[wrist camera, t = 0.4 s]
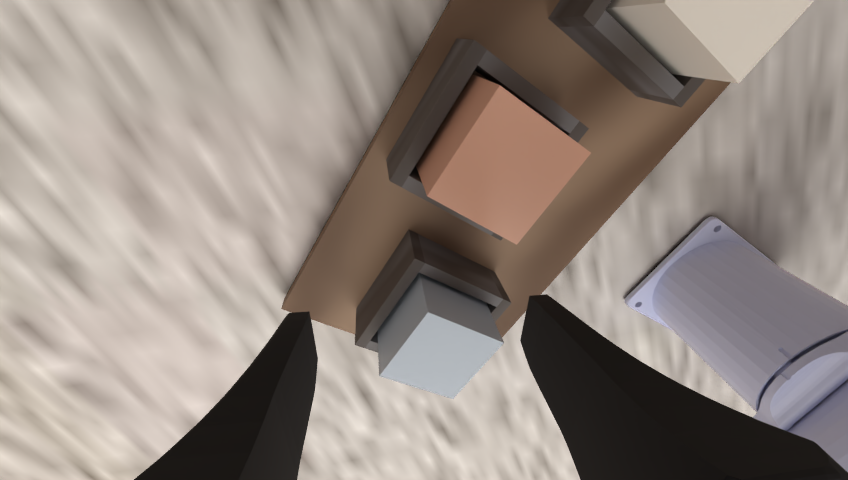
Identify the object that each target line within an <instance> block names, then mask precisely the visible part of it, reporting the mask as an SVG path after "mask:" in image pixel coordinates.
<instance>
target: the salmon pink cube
mask: <svg viewBox="0 0 848 480" xmlns="http://www.w3.org/2000/svg"><path fill="white" fill-rule="evenodd" d="M590 154H591V152H589V151H588V150H587V149H585V148H584V147H583V146H581V145H580V144H579V143H577V142H576V141H575V140H573V139H572V138H571V137H569V136H568V135H566V134H565V133H564V132H562V131H561V130H560V129H558V128H557V127H556V126H554V125H553V124H552V123H550V122H549V121H548V120H546V119H545V118H543V117H542V116H541V115H539V114H538V113H537V112H535V111H534V110H533V109H531V108H530V107H529V106H527V105H526V104H525V103H523V102H522V101H520V100H519V99H518V98H516V97H515V96H514V95H512V94H511V93H510V92H508V91H507V90H506V89H504V88H503V87H502V86H500V85H498V84H495V83H493V82H491V81H488V80H486V79H483V78H481V77H478V76H476V75H472V76H471V78H470V79H469V81H468V83H467V84H466V86H465V87H464V89H463V91H462V92H461V94H460V96H459V97H458V99H457V100H456V102H455V104H454V105H453V107H452V108H451V110H450V112H449V113H448V115H447V116H446V118H445V120H444V121H443V123H442V125H441V126H440V128H439V129H438V131H437V133H436V134H435V136H434V137H433V139H432V141H431V142H430V144H429V145H428V147H427V149H426V150H425V152H424V153H423V155H422V157H421V158H420V160H419V162H418V163H417V165H416V168H417V170H418V173H419V176H420V178H421V181H422V184H423V187H424V189H425V192H426V195H427V196H428V197H429V198H431V199H433V200H435V201H437V202H439V203H441V204H442V205H444V206H446V207H448V208H450V209H452V210H453V211H455V212H457V213H459V214H461V215H463V216H465V217H466V218H468V219H470V220H472V221H474V222H476V223H477V224H479V225H481V226H483V227H485V228H487V229H488V230H490V231H492V232H494V233H496V234H498V235H500V236H501V237H503V238H505V239H507V240H509V241H511V242H512V243H514V244H516V245H517V244H518V243H519V242H520V240H521V239H522V238H523V237H524V235H525V234H526V233H527V232H528V230H529V229H530V228H531V227H532V226H533V224H534V223H535V222H536V221H537V219H538V218H539V217H540V216H541V214H542V213H543V212H544V211H545V210H546V208H547V207H548V206H549V205H550V203H551V202H552V201H553V200H554V198H555V197H556V196H557V195H558V193H559V192H560V191H561V190H562V189H563V187H564V186H565V185H566V184H567V182H568V181H569V180H570V179H571V177H572V176H573V175H574V174H575V173H576V171H577V170H578V169H579V168H580V166H581V165H582V164H583V163H584V161H585V160H586V159H587V158H588V156H589V155H590Z"/></svg>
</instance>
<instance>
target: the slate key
mask: <svg viewBox="0 0 848 480" xmlns="http://www.w3.org/2000/svg"><path fill="white" fill-rule="evenodd" d="M377 331H378V357H379V376H380V377H384V378H387V379H390V380H393V381H396V382H400V383H403V384H406V385H409V386H413V387H416V388H419V389H422V390H426V391H429V392H432V393H435V394H438V395H442V396H445V397H448V398H451V399H454V397H455V396H456V395H457V394H458V393H459V392H460V391H461V390H462V389H463V388H464V386H465V385H466V384H467V383H468V382H469V381H470V380H471V379H472V378H473V376H474V375H475V374H476V373H477V372H478V371H479V370H480V369H481V368H482V367H483V365H484V364H485V363H486V362H487V361H488V360H489V359H490V358H491V357H492V356H493V354H494V353H495V352H496V351H497V350H498V349H499V348H500V347H501V346H502V344H503V343H504V342H503V340H502V337H501V335H500V333H499V331H498V328H497V326H496V324H495V321H494V319H493V317H492V315H491V312H490V310H489V308H488V306H487V303H486V302H484V301H482V300H480V299H477V298H475V297H473V296H471V295H468V294H466V293H464V292H462V291H460V290H457V289H455V288H453V287H451V286H448V285H446V284H444V283H442V282H439V281H437V280H435V279H433V278H430V277H428V276H426V275H424V274H421V273H418V274H417V276H416V277H415V278H414V280H413V281H412V283H411V284H410V285H409V287H408V288H407V290H406V291H405V293H404V294H403V295H402V297H401V298H400V300H399V301H398V302H397V304H396V305H395V307H394V308H393V309H392V311H391V312H390V314H389V315H388V316H387V318H386V319H385V321H384V322H383V323H382V325H381V326H380V328H379V329H378V330H377Z"/></svg>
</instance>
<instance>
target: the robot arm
mask: <svg viewBox="0 0 848 480" xmlns="http://www.w3.org/2000/svg"><path fill="white" fill-rule="evenodd" d="M625 303H626V304H627V305H628V306H629V307H630V308H632V309H634V310H636V311H638V312H640V313H641V314H643V315H645V316H647V317H649V318H651V319H652V320H654V321H656V322H658V323H660V324H662V325H664V326H665V327H667V328H669V329H671V330H673V331H674V332H675V333H676V334H677V335H678V336H679V337H680V338H681V339H682V340H683V341H684V342H685V343H686V344H687V345H688V346H689V347H690V348H691V349H692V350H693V351H694V352H696V353H697V354H698V355H699V356H700V357H701V358H702V359H703V360H704V361H705V362H706V363H707V364H708V365H709V366H710V367H711V368H712V369H713V370H714V371H715V372H716V373H717V374H718V375H719V376H720V377H721V378H722V379H723V380H724V381H725V382H726V383H727V384H728V385H729V386H730V387H731V388H732V389H733V390H734V391H736V392H737V393H738V394H739V395H740V396H741V397H742V398H743V399H744V400H745V401H746V402H747V403H748V404H749V405H750V406H751V407H752V408H753V409H754V410H755V411H756V412H757V413H756V415H755V416H754V417H753V418H752V417H750V416H747V415H745V414H743V413H740V412H738V411H736V410H733V409H731V408H729V407H727V406H724V405H722V404H720V403H718V402H716V401H714V400H711V399H709V398H707V397H705V396H703V395H701V394H699V393H697V392H695V391H693V390H691V389H689V388H687V387H685V386H683V385H681V384H679V383H678V382H676V381H674V380H672V379H670V378H668V377H666V376H665V375H663V374H661V373H660V372H658V371H656V370H654V369H653V368H651V367H649V366H648V365H646V364H644V363H642V362H641V361H639V360H638V359H636V358H634V357H633V356H631V355H630V354H628V353H627V352H625V351H624V350H622V349H621V348H619V347H618V346H616V345H615V344H613V343H612V342H610V341H609V340H607V339H606V338H605V337H603V336H602V335H600V334H599V333H598V332H596V331H595V330H594V329H592V328H591V327H589V326H588V325H587V324H585V323H584V322H583V321H581V320H580V319H579V318H577V317H576V316H575V315H574V314H572V313H571V312H570V311H568V310H567V309H566V308H564V307H563V306H562V305H560V304H559V303H558V302H556V301H555V300H554V299H552V298H551V297H550V296H548V295H547V294H546V295H532V296H529V300H528V305H527V310H526V315H525V320H524V325H523V330H522V335H521V340H520V341H521V344H522V347H523V350H524V353H525V356H526V359H527V361H528V364H529V367H530V369H531V372H532V374H533V376H534V378H535V380H536V382H537V384H538V386H539V388H540V390H541V392H542V394H543V396H544V398H545V400H546V402H547V404H548V406H549V408H550V410H551V412H552V414H553V416H554V418H555V420H556V422H557V424H558V426H559V428H560V430H561V432H562V434H563V436H564V439H565V441H566V443H567V445H568V448H569V451H570V453H571V456H572V458H573V461H574V464H575V466H576V469H577V471H578V474H579V477H580V479H581V480H848V306H847V305H845V304H843V303H842V302H840V301H838V300H836V299H835V298H833V297H831V296H829V295H828V294H826V293H824V292H822V291H821V290H819V289H817V288H815V287H814V286H812V285H810V284H808V283H807V282H805V281H803V280H801V279H800V278H798V277H796V276H794V275H793V274H791V273H789V272H787V271H786V270H784V269H782V268H780V267H779V266H778V265H776V264H775V263H774V262H773V261H771V260H770V259H769V258H767V257H766V256H765V255H764V254H762V253H761V252H760V251H759V250H757V249H756V248H755V247H754V246H752V245H751V244H750V243H748V242H747V241H746V240H745V239H743V238H742V237H741V236H740V235H738V234H737V233H736V232H735V231H733V230H732V229H731V228H730V227H728V226H727V225H726V224H724V223H723V222H722V221H721V220H719V219H718V218H716V217H714V216H711V217H708V218H706V219H705V220H704V221H703V222H702V223H701V224H700V225H699V226H698V227H697V228H696V229H695V230H694V231H693V232H692V233H691V234H690V235H689V236H688V237H687V238H686V239H685V240H684V241H683V242H682V243H681V244H680V245H679V246H678V247H677V248H676V249H675V250H674V251H673V252H672V253H670V254H669V255H668V256H667V257H666V258H665V259H664V260H663V261H662V262H661V263H660V264H659V265H658V266H657V267H656V268H655V269H654V270H653V271H652V272H651V273H650V274H649V275H648V276H647V277H646V278H645V279H644V280H643V281H642V282H641V283H640V284H639V285H638V286H637V287H636V288H635V289H634V290H633V291H632V292H631V293H630V294H629V295H628V296H627V297H626V298H625ZM317 361H318V357H317V351H316V346H315V340H314V334H313V329H312V323H311V317H310V312H309V311H308V312H294V313H289V314H288V315H287V316H286V317H285V319H284V320H283V321H282V323H281V324H280V326H279V327H278V329H277V330H276V332H275V333H274V334H273V336H272V337H271V339H270V340H269V341H268V343H267V344H266V346H265V347H264V348H263V349H262V351H261V352H260V353H259V355H258V356H257V357H256V359H255V360H254V361H253V362H252V364H251V365H250V366H249V368H248V369H247V370H246V371H245V372H244V374H243V375H242V376H241V377H240V378H239V379H238V381H237V382H236V383H235V384H234V385H233V386H232V388H231V389H230V390H229V391H228V392H227V393H226V394H225V396H224V397H223V398H222V399H221V400H220V401H219V402H218V403H217V404H216V405H215V406H214V407H213V408H212V409H211V411H210V412H209V413H208V414H207V415H206V416H205V417H204V418H203V419H202V420H201V421H200V422H199V423H198V424H197V425H196V426H194V427H193V428H192V429H191V430H190V431H189V432H188V433H187V434H186V435H185V436H184V437H183V438H182V439H181V440H180V441H179V442H177V443H176V444H175V445H174V446H173V447H172V448H171V449H170V450H169V451H168V452H166V453H165V454H164V455H163V456H162V457H161V458H160V459H158V460H157V461H156V462H155V463H154V464H152V465H151V466H150V467H149V468H148V469H146V470H145V471H144V472H143V473H141V474H140V475H139V476H138V477H137V478H135V479H134V480H297V476H298V470H299V465H300V459H301V454H302V450H303V445H304V440H305V435H306V430H307V426H308V421H309V416H310V411H311V406H312V401H313V397H314V391H315V384H316V373H317Z"/></svg>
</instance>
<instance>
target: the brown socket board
mask: <svg viewBox="0 0 848 480" xmlns="http://www.w3.org/2000/svg"><path fill="white" fill-rule="evenodd" d="M611 2H612V0H450V1H449V3H448V5H447V7H446V8H445V10H444V12H443V14H442V16H441V17H440V19H439V21H438V23H437V25H436V26H435V28H434V30H433V32H432V34H431V35H430V37H429V39H428V41H427V43H426V44H425V46H424V48H423V50H422V52H421V53H420V55H419V57H418V59H417V61H416V62H415V64H414V66H413V68H412V70H411V71H410V73H409V75H408V77H407V79H406V80H405V82H404V84H403V86H402V88H401V89H400V91H399V93H398V95H397V97H396V98H395V100H394V102H393V104H392V106H391V107H390V109H389V111H388V113H387V115H386V116H385V118H384V120H383V122H382V124H381V125H380V127H379V129H378V131H377V133H376V134H375V136H374V138H373V140H372V142H371V143H370V145H369V147H368V149H367V151H366V152H365V154H364V156H363V158H362V160H361V161H360V163H359V165H358V167H357V169H356V171H355V172H354V174H353V176H352V178H351V180H350V181H349V183H348V185H347V187H346V189H345V190H344V192H343V194H342V196H341V198H340V199H339V201H338V203H337V205H336V207H335V208H334V210H333V212H332V214H331V216H330V217H329V219H328V221H327V223H326V225H325V226H324V228H323V230H322V232H321V234H320V235H319V237H318V239H317V241H316V243H315V244H314V246H313V248H312V250H311V252H310V253H309V255H308V257H307V259H306V261H305V262H304V264H303V266H302V268H301V270H300V271H299V273H298V275H297V277H296V279H295V280H294V282H293V284H292V286H291V288H290V289H289V291H288V293H287V295H286V297H285V299H284V302H283V305H282V309H283V310H286V311H289V312H292V313H294V312H308V311H309V312H310V317H311V319H312V320H315V321H318V322H321V323H324V324H327V325H330V326H332V327H335V328H338V329H341V330H344V331H347V332H350V333H353V334H355V345H357V346H360V347H363V348H366V349H369V350H372V351H375V352H378V331H377V330H378V329H379V328H380V326H381V325H382V323H383V322H384V321H385V319H386V318H387V316H388V315H389V314H390V312H391V311H392V309H393V308H394V307H395V305H396V304H397V302H398V301H399V300H400V298H401V297H402V295H403V294H404V293H405V291H406V290H407V288H408V287H409V285H410V284H411V283H412V281H413V280H414V278H415V277H416V276H417V274H418V273H421V274H424V275H426V276H428V277H430V278H433V279H435V280H437V281H439V282H442V283H444V284H446V285H448V286H451V287H453V288H455V289H457V290H460V291H462V292H464V293H466V294H468V295H471V296H473V297H475V298H477V299H480V300H482V301H484V302H486V303H487V306H488V308H489V310H490V312H491V315H492V317H493V319H494V321H495V324H496V326H497V328H498V331H499V333H500V335H501V337H503V336H504V335H505V334H506V333H507V331H508V330H509V329H510V328H511V327H512V326H513V325H514V324H515V322H516V321H517V320H518V319H519V318H520V317H521V316H522V315H523V314H524V312H525V311H526V310H527V305H528V300H529V296H532V295H541V294H542V292H543V291H544V290H545V289H546V288H547V287H548V286H549V285H550V283H551V282H552V281H553V280H554V279H555V278H556V277H557V276H558V275H559V273H560V272H561V271H562V270H563V269H564V268H565V267H566V266H567V265H568V263H569V262H570V261H571V260H572V259H573V258H574V257H575V256H576V254H577V253H578V252H579V251H580V250H581V249H582V248H583V247H584V246H585V244H586V243H587V242H588V241H589V240H590V239H591V238H592V237H593V236H594V234H595V233H596V232H597V231H598V230H599V229H600V228H601V227H602V225H603V224H604V223H605V222H606V221H607V220H608V219H609V218H610V217H611V215H612V214H613V213H614V212H615V211H616V210H617V209H618V208H619V207H620V205H621V204H622V203H623V202H624V201H625V200H626V199H627V198H628V196H629V195H630V194H631V193H632V192H633V191H634V190H635V189H636V188H637V186H638V185H639V184H640V183H641V182H642V181H643V180H644V179H645V178H646V176H647V175H648V174H649V173H650V172H651V171H652V170H653V169H654V167H655V166H656V165H657V164H658V163H659V162H660V161H661V160H662V159H663V157H664V156H665V155H666V154H667V153H668V152H669V151H670V150H671V149H672V147H673V146H674V145H675V144H676V143H677V142H678V141H679V140H680V138H681V137H682V136H683V135H684V134H685V133H686V132H687V131H688V130H689V128H690V127H691V126H692V125H693V124H694V123H695V122H696V121H697V120H698V118H699V117H700V116H701V115H702V114H703V113H704V112H705V111H706V109H707V108H708V107H709V106H710V105H711V104H712V103H713V102H714V101H715V99H716V98H717V97H718V96H719V95H720V94H721V93H722V92H723V91H724V89H725V88H726V87H727V86H728V85H729V84H730V83H731V82H725V81H718V80H711V79H704V78H697V77H690V76H683V75H676V74H671V73H670V72H669V71H668V70H666V69H665V68H664V67H663V66H662V65H661V64H660V63H659V62H658V61H657V60H656V59H655V58H654V57H653V56H652V55H651V54H650V53H649V52H648V51H647V50H646V49H645V48H644V47H643V46H642V45H641V44H640V43H639V42H638V41H637V40H636V39H635V38H634V37H633V36H632V35H630V34H629V33H628V32H627V31H626V30H625V29H624V28H623V27H622V26H621V25H620V24H619V23H618V22H617V21H616V20H615V19H614V18H613V17H612V16H611V15H610V14H609V13H608V12H607V11H606V9H607V7H608V6H609V4H610V3H611ZM472 75H476V76H478V77H481V78H483V79H486V80H488V81H491V82H493V83H495V84H498V85H500V86H502V87H503V88H504V89H506V90H507V91H508V92H510V93H511V94H512V95H514V96H515V97H516V98H518V99H519V100H520V101H522V102H523V103H525V104H526V105H527V106H529V107H530V108H531V109H533V110H534V111H535V112H537V113H538V114H539V115H541V116H542V117H543V118H545V119H546V120H548V121H549V122H550V123H552V124H553V125H554V126H556V127H557V128H558V129H560V130H561V131H562V132H564V133H565V134H566V135H568V136H569V137H571V138H572V139H573V140H575V141H576V142H577V143H579V144H580V145H581V146H583V147H584V148H585V149H587V150H588V151H589V152H591V154H590V155H589V156H588V158H587V159H586V160H585V161H584V163H583V164H582V165H581V166H580V168H579V169H578V170H577V171H576V173H575V174H574V175H573V176H572V177H571V179H570V180H569V181H568V182H567V184H566V185H565V186H564V187H563V189H562V190H561V191H560V192H559V193H558V195H557V196H556V197H555V198H554V200H553V201H552V202H551V203H550V205H549V206H548V207H547V208H546V210H545V211H544V212H543V213H542V214H541V216H540V217H539V218H538V219H537V221H536V222H535V223H534V224H533V226H532V227H531V228H530V229H529V230H528V232H527V233H526V234H525V235H524V237H523V238H522V239H521V240H520V242H519V243H518V244H517V245H516V244H514V243H512V242H511V241H509V240H507V239H505V238H503V237H501V236H500V235H498V234H496V233H494V232H492V231H490V230H488V229H487V228H485V227H483V226H481V225H479V224H477V223H476V222H474V221H472V220H470V219H468V218H466V217H465V216H463V215H461V214H459V213H457V212H455V211H453V210H452V209H450V208H448V207H446V206H444V205H442V204H441V203H439V202H437V201H435V200H433V199H431V198H429V197H428V196H427V195H426V192H425V189H424V187H423V184H422V181H421V178H420V176H419V173H418V170H417V168H416V165H417V163H418V162H419V160H420V158H421V157H422V155H423V153H424V152H425V150H426V149H427V147H428V145H429V144H430V142H431V141H432V139H433V137H434V136H435V134H436V133H437V131H438V129H439V128H440V126H441V125H442V123H443V121H444V120H445V118H446V116H447V115H448V113H449V112H450V110H451V108H452V107H453V105H454V104H455V102H456V100H457V99H458V97H459V96H460V94H461V92H462V91H463V89H464V87H465V86H466V84H467V83H468V81H469V79H470V78H471V76H472Z"/></svg>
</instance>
